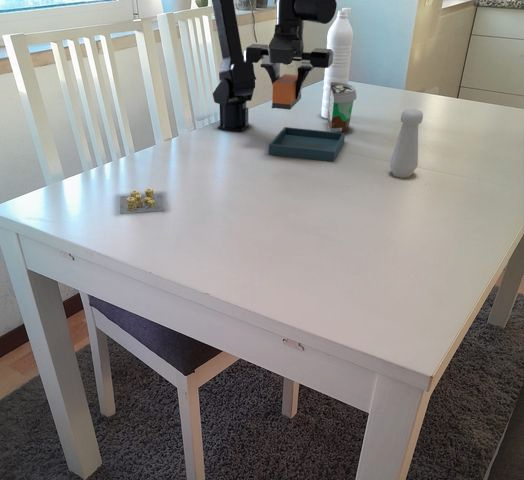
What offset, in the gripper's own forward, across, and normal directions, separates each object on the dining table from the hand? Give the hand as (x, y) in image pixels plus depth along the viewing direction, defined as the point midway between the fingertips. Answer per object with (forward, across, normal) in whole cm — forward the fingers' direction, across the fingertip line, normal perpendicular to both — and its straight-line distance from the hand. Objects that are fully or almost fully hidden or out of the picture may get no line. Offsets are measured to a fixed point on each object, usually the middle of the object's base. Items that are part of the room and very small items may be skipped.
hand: (287, 98), depth 122 cm
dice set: (+11, -17, -41) cm, 46 cm away
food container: (+11, +10, +18) cm, 23 cm away
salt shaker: (+11, +28, -9) cm, 32 cm away
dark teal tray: (+11, +5, +1) cm, 12 cm away
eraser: (+1, 0, 0) cm, 1 cm away
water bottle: (+11, +6, +30) cm, 32 cm away
